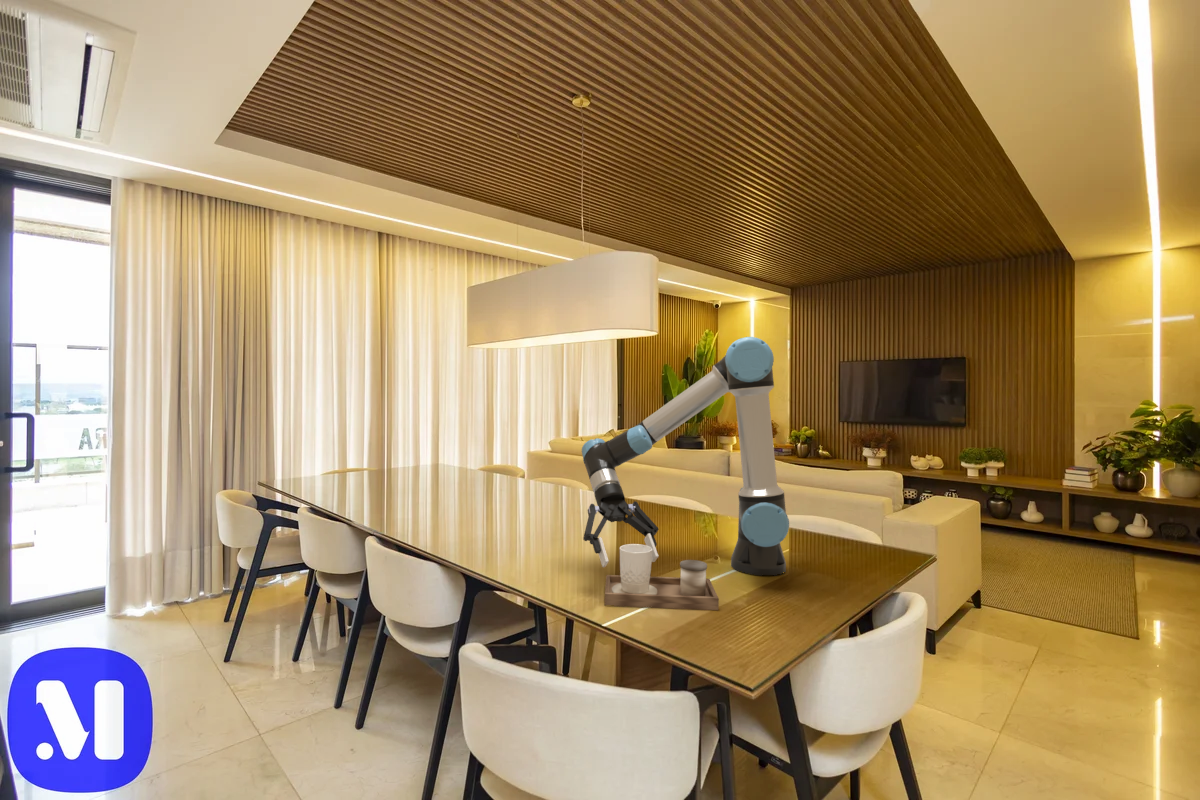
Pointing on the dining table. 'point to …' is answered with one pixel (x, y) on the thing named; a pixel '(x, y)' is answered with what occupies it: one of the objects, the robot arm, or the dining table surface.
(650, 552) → the white cup
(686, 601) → the tray
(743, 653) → the dining table surface
